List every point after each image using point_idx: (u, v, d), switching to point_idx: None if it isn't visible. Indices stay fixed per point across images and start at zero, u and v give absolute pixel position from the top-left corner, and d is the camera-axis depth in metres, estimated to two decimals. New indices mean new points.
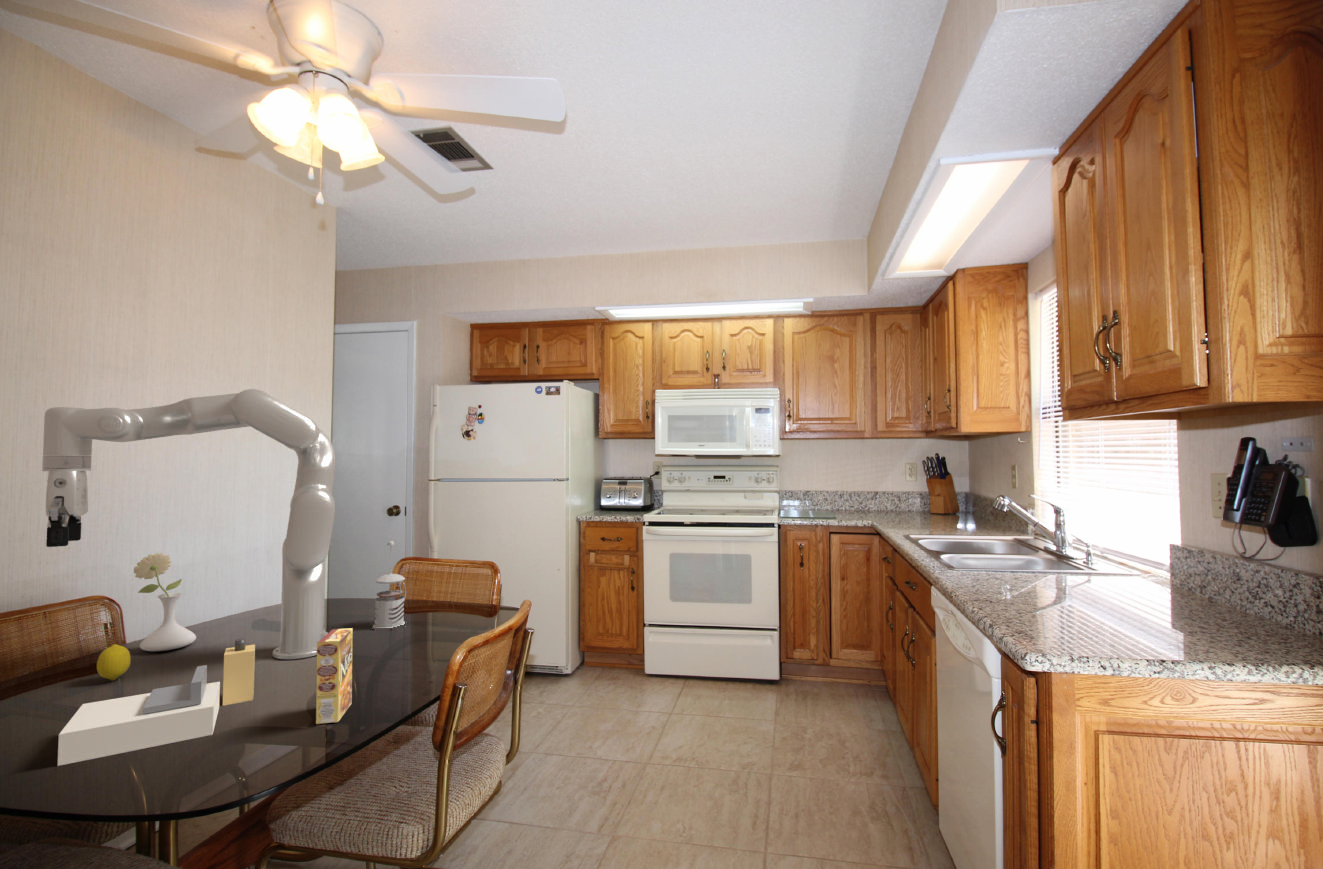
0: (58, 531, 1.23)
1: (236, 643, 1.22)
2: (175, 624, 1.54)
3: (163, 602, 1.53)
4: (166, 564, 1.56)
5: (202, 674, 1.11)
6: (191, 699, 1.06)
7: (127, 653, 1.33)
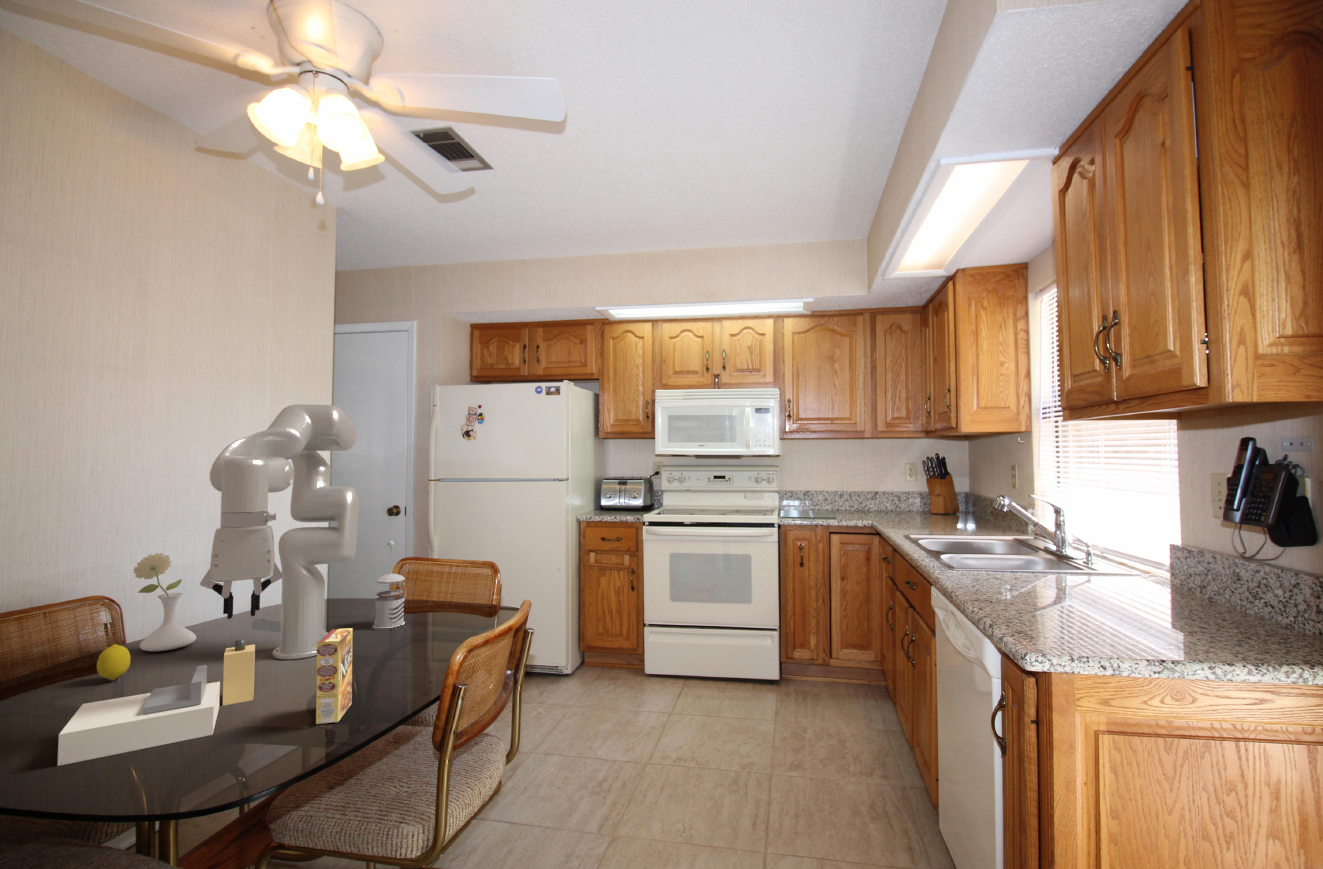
0: None
1: (236, 643, 1.22)
2: (175, 624, 1.54)
3: (163, 602, 1.53)
4: (166, 564, 1.56)
5: (202, 674, 1.11)
6: (191, 699, 1.06)
7: (127, 653, 1.33)
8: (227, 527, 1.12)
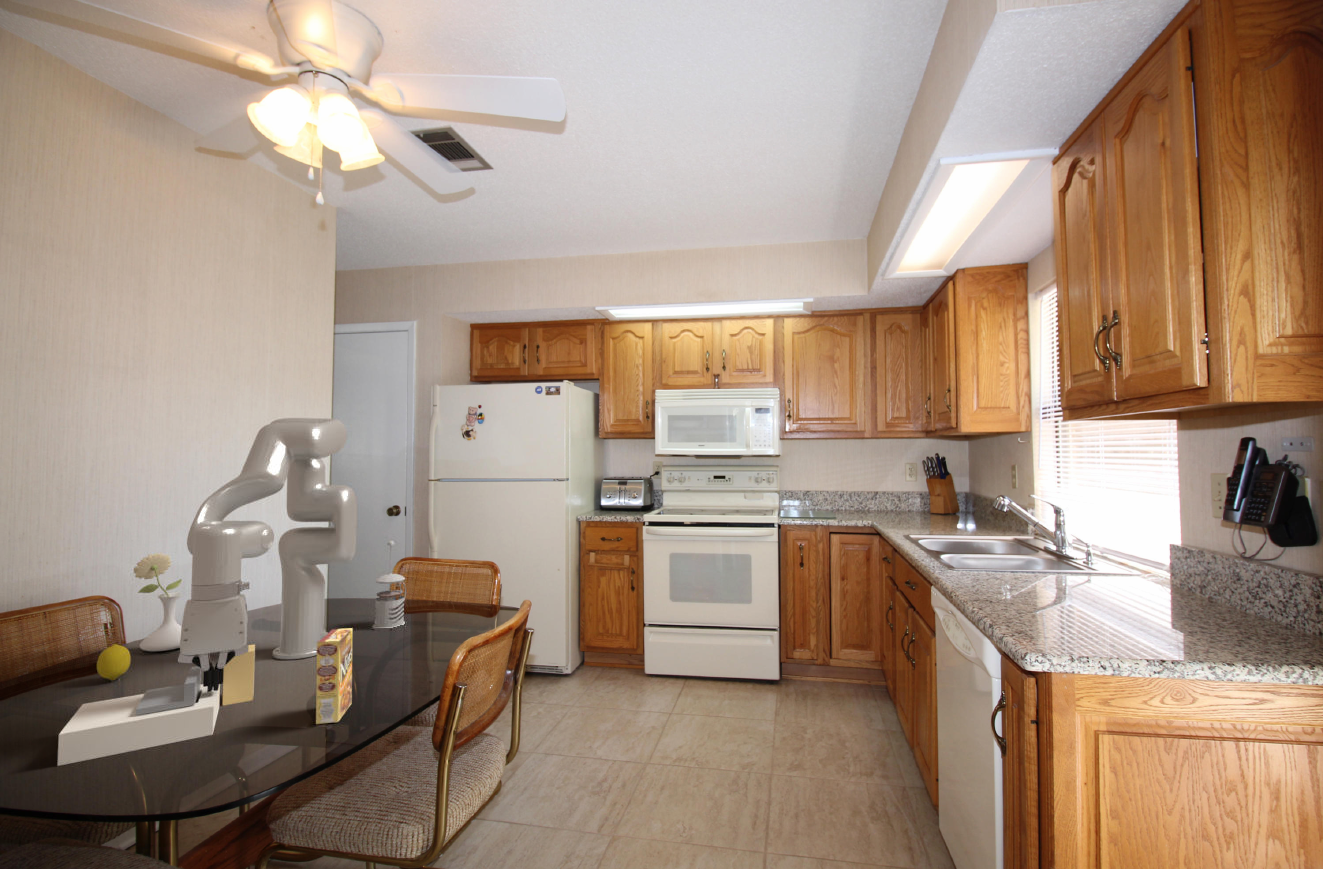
0: (223, 670, 1.13)
1: None
2: (175, 624, 1.54)
3: (163, 602, 1.53)
4: (166, 564, 1.56)
5: (196, 675, 1.10)
6: (185, 700, 1.06)
7: (127, 653, 1.33)
8: (198, 600, 1.09)
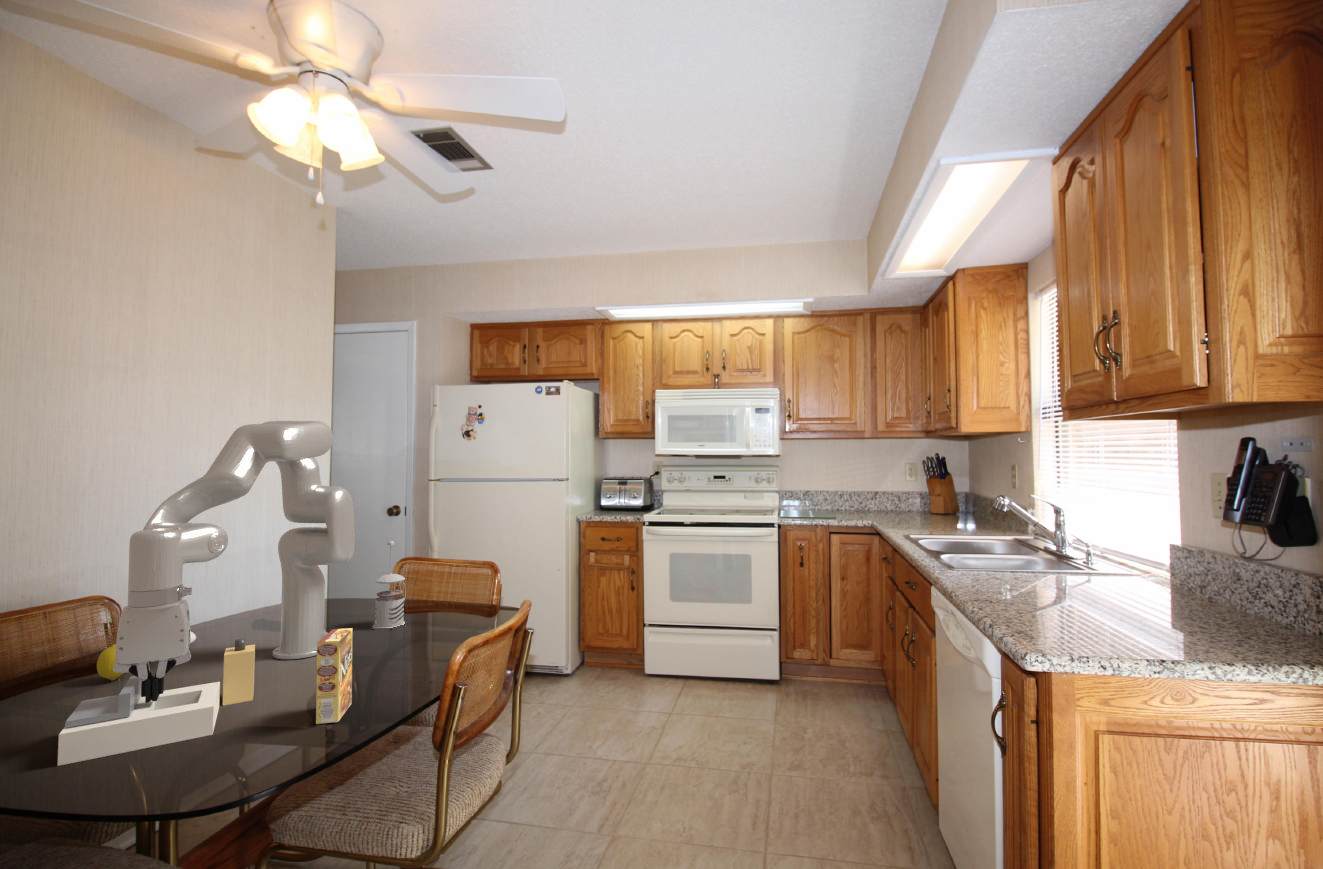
0: (163, 679, 1.08)
1: (236, 643, 1.22)
2: None
3: None
4: None
5: (133, 685, 1.05)
6: (119, 712, 1.01)
7: None
8: (134, 607, 1.04)
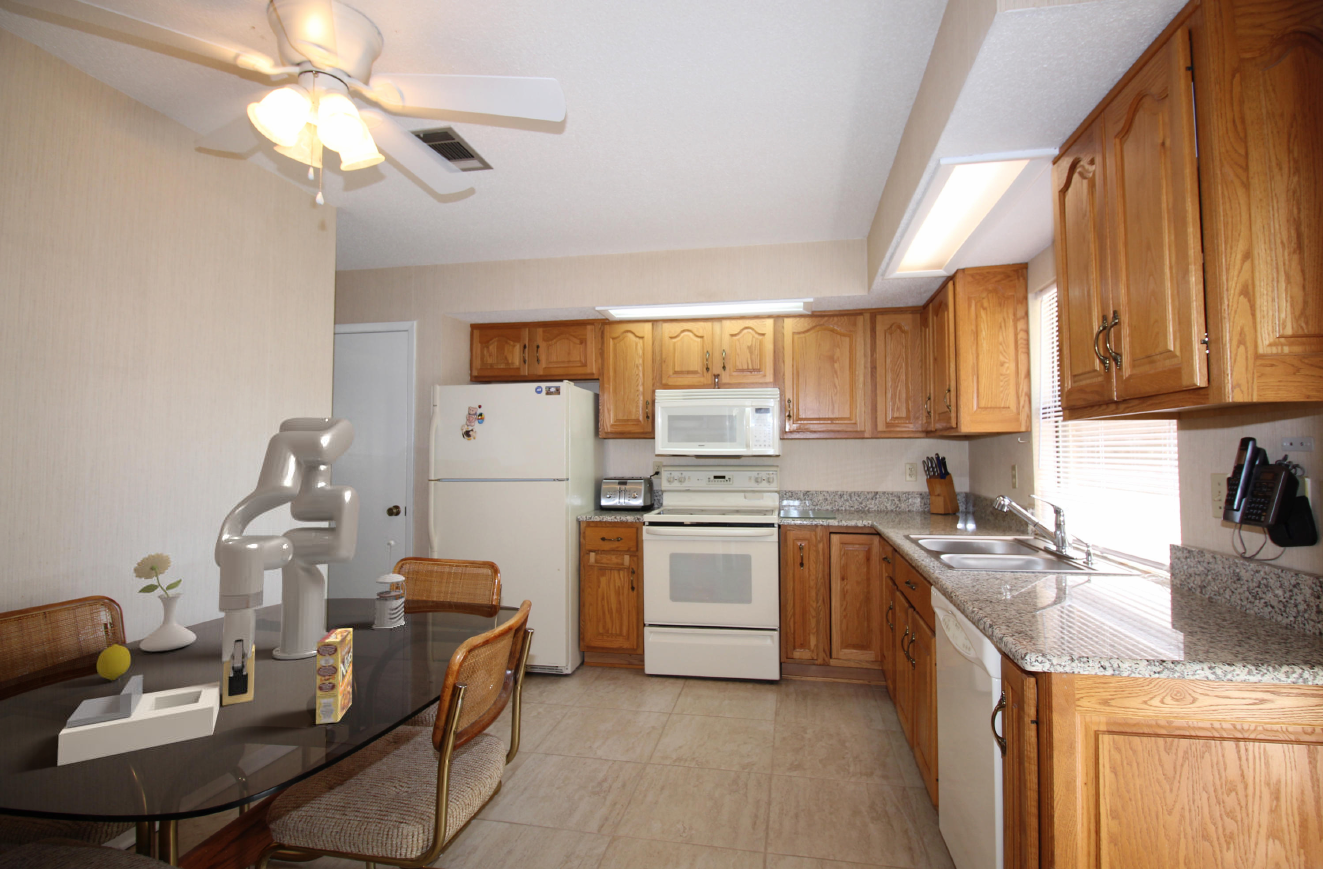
0: None
1: None
2: (175, 624, 1.54)
3: (163, 602, 1.53)
4: (166, 564, 1.56)
5: (135, 685, 1.05)
6: (120, 711, 1.01)
7: (127, 653, 1.33)
8: (257, 606, 1.22)
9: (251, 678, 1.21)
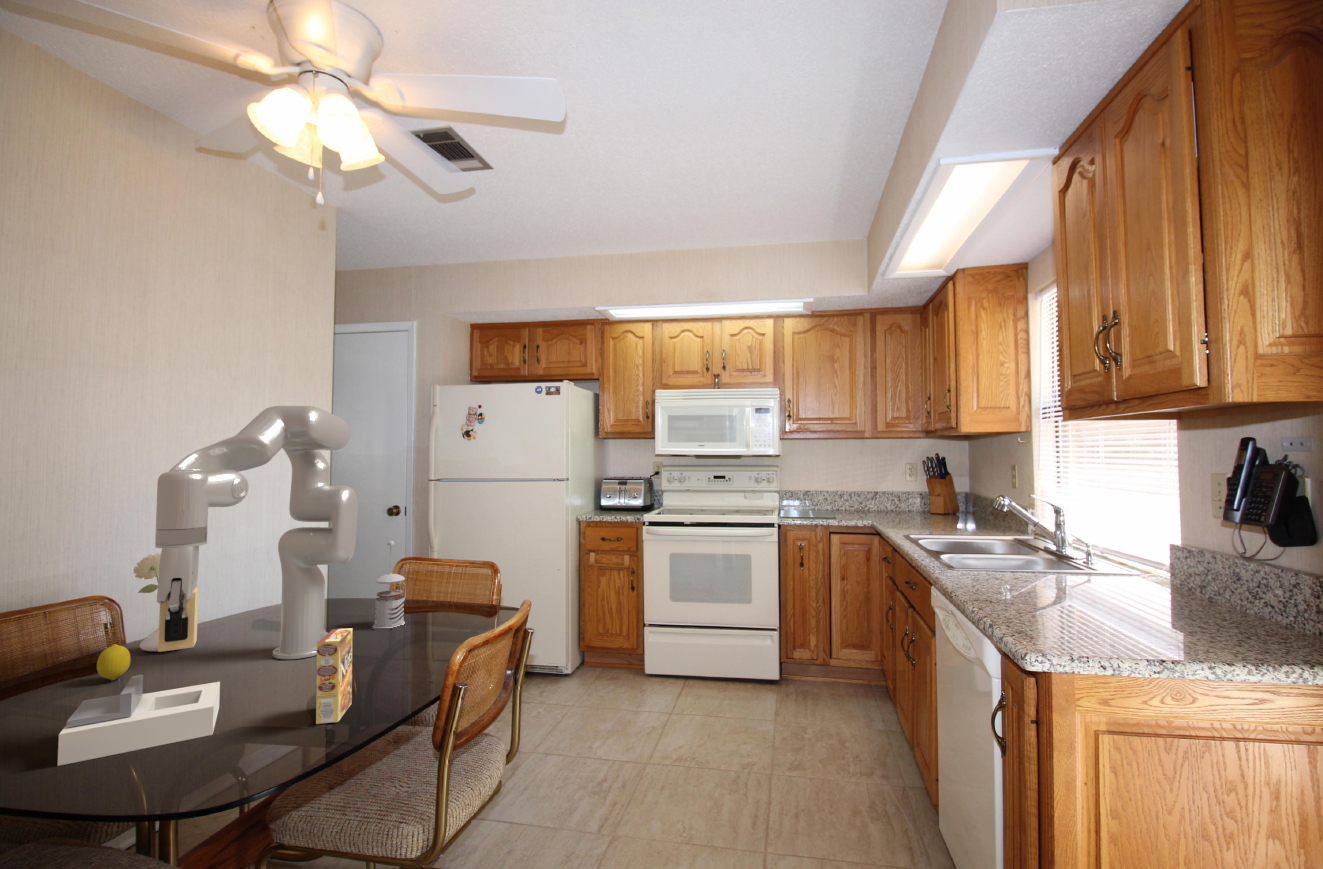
0: None
1: None
2: None
3: None
4: None
5: (135, 685, 1.05)
6: (120, 711, 1.01)
7: (127, 653, 1.33)
8: (198, 543, 1.10)
9: (192, 623, 1.09)
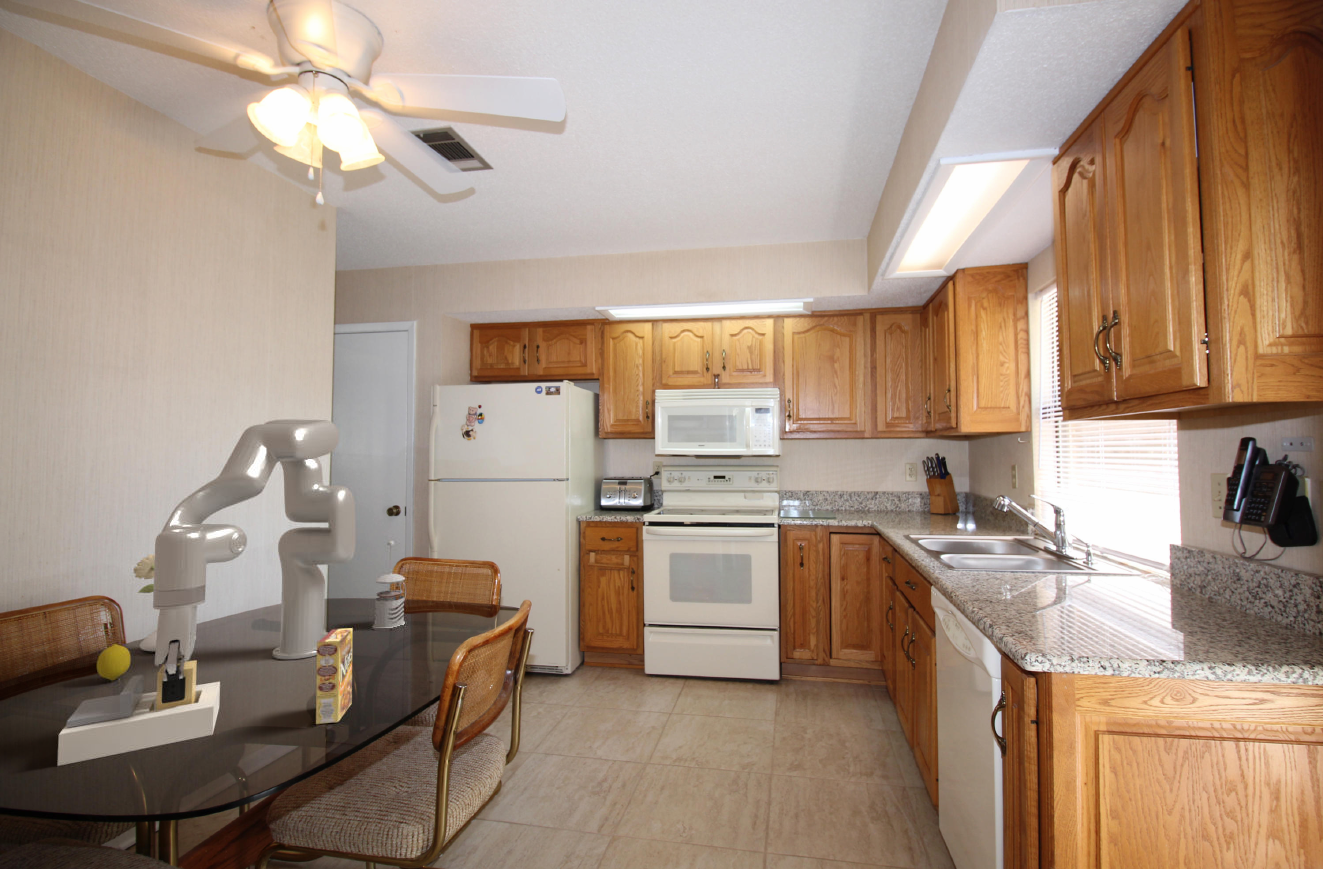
0: None
1: None
2: None
3: None
4: None
5: (135, 685, 1.05)
6: (120, 711, 1.01)
7: (127, 653, 1.33)
8: (197, 602, 1.09)
9: (189, 699, 1.08)
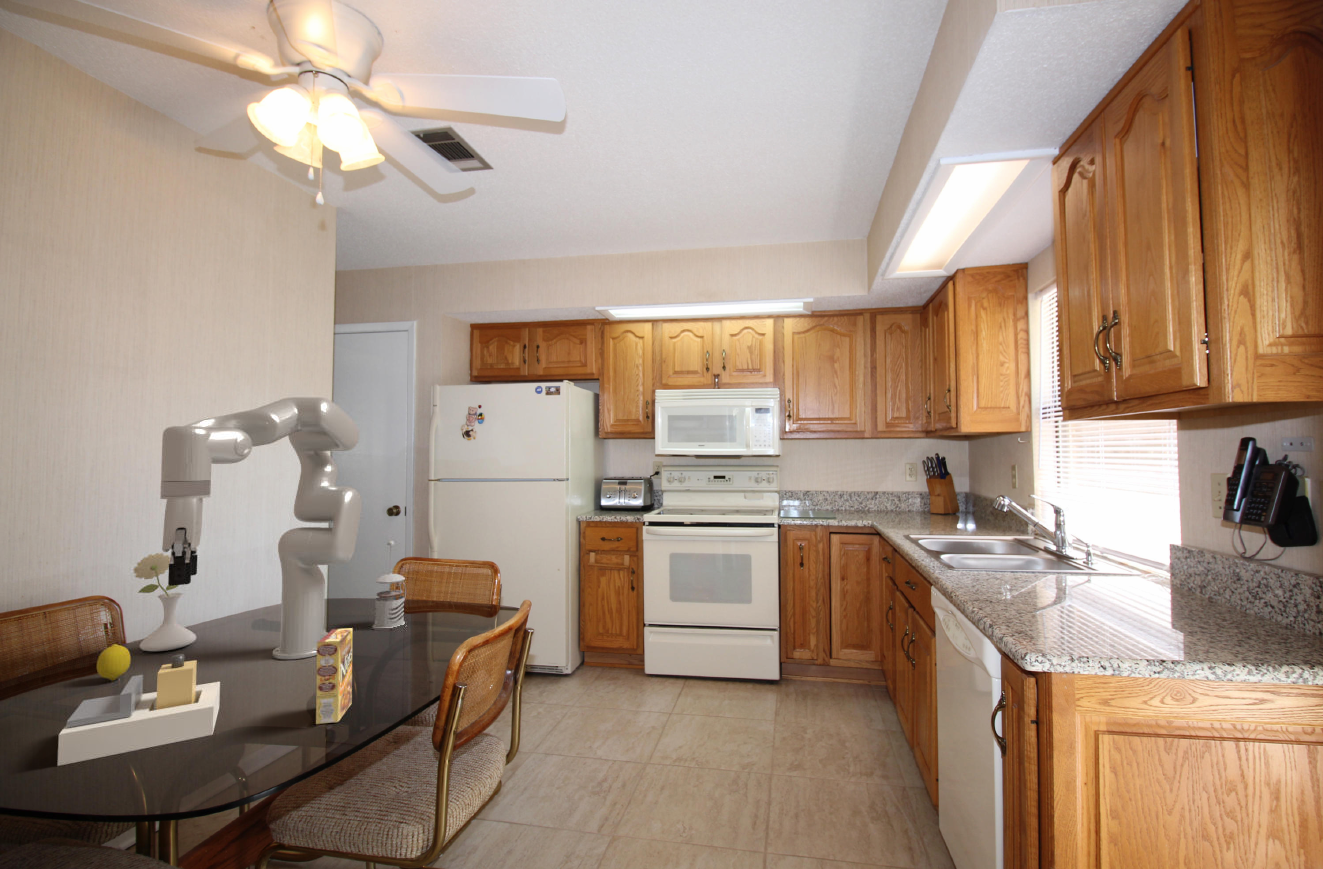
0: None
1: (173, 659, 1.09)
2: (175, 624, 1.54)
3: (163, 602, 1.53)
4: (166, 564, 1.56)
5: (135, 685, 1.05)
6: (120, 711, 1.01)
7: (127, 653, 1.33)
8: (202, 495, 1.13)
9: (189, 699, 1.08)
